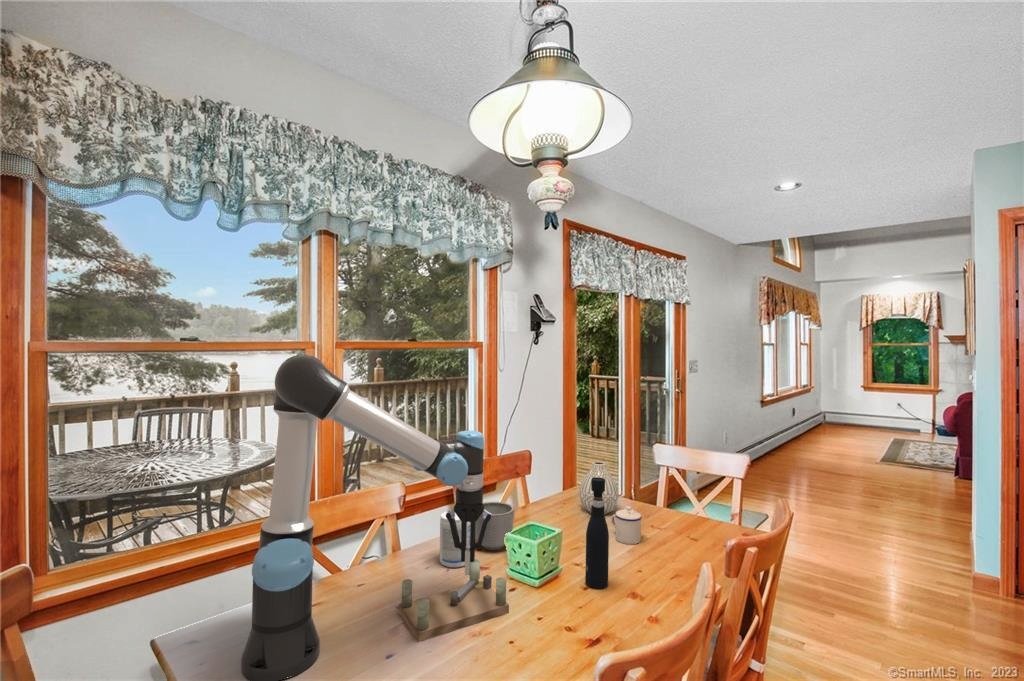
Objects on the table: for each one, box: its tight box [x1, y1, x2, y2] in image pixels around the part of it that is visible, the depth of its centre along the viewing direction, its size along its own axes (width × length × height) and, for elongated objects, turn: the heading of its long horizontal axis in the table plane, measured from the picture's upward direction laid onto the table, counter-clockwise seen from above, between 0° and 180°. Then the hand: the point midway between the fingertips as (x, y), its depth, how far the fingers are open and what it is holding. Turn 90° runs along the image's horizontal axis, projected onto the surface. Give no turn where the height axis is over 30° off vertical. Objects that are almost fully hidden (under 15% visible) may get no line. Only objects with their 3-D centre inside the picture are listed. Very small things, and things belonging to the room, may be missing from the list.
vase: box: [578, 460, 619, 516], centre depth 200 cm, size 16×16×20 cm
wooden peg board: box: [398, 574, 510, 642], centre depth 123 cm, size 24×14×8 cm, turn 122°
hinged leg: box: [458, 558, 481, 601], centre depth 130 cm, size 12×3×6 cm, turn 159°
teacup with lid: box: [610, 505, 643, 545], centre depth 172 cm, size 12×9×12 cm
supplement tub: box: [439, 510, 471, 569], centre depth 152 cm, size 10×10×15 cm
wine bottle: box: [584, 477, 610, 590], centre depth 139 cm, size 6×6×30 cm
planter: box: [475, 501, 515, 552], centre depth 164 cm, size 14×14×13 cm
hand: (467, 572), depth 135 cm, fingers closed
